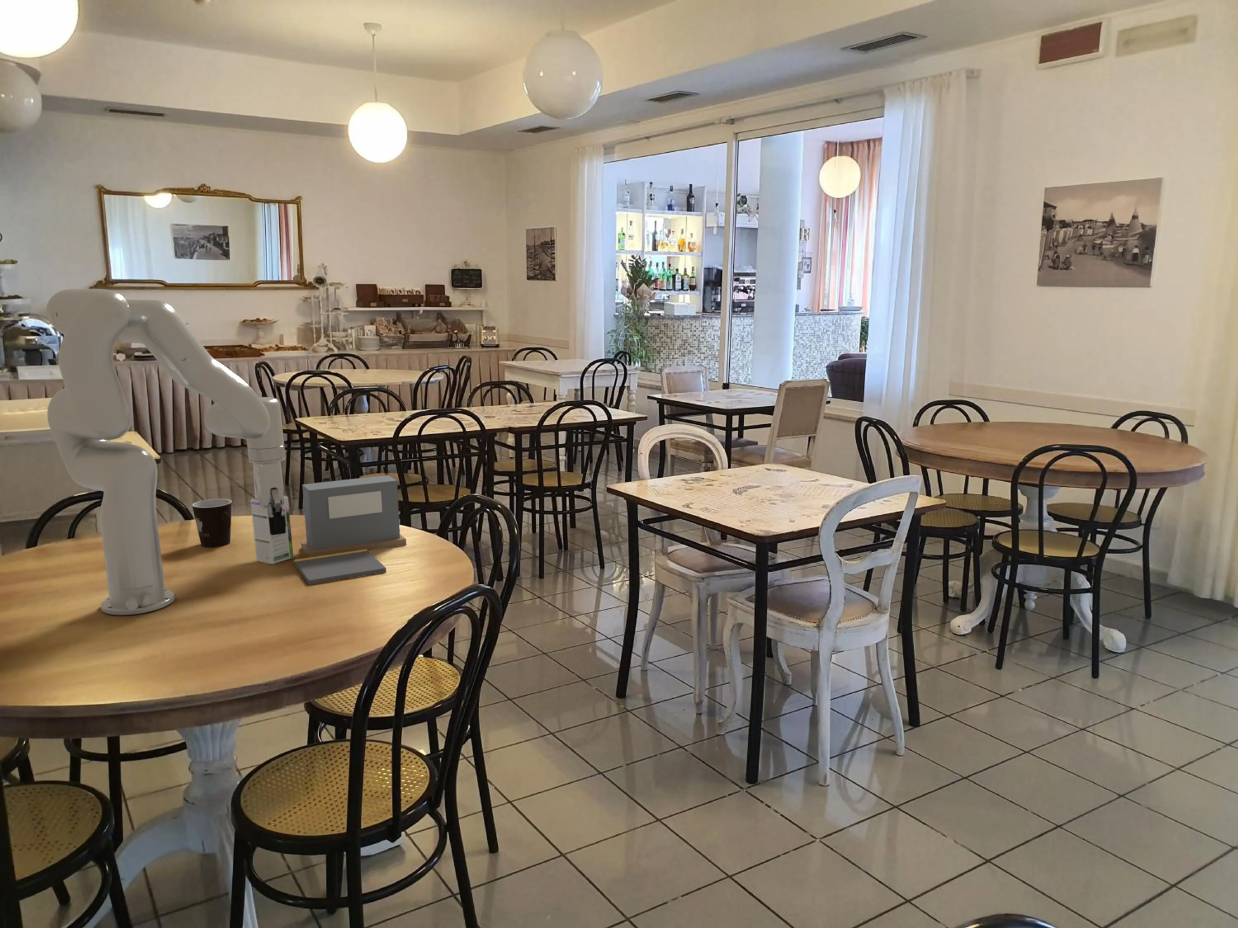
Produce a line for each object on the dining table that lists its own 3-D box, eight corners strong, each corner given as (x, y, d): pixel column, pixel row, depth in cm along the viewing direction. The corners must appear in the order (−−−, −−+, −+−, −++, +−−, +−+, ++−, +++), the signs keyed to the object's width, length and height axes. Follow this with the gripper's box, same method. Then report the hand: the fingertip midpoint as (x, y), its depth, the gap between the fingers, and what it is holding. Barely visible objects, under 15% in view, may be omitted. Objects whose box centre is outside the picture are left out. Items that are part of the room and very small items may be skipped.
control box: (406, 544, 214) (403, 481, 211) (310, 559, 203) (305, 492, 200) (394, 534, 222) (390, 473, 219) (301, 548, 212) (296, 483, 208)
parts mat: (386, 572, 194) (386, 567, 194) (309, 584, 186) (309, 579, 186) (366, 553, 207) (366, 548, 207) (293, 564, 199) (293, 559, 199)
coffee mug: (195, 541, 218) (191, 501, 216) (234, 537, 221) (231, 497, 219) (196, 554, 207) (191, 512, 205) (236, 549, 211) (232, 508, 209)
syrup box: (272, 565, 199) (267, 501, 196) (255, 560, 202) (249, 497, 199) (293, 558, 204) (289, 495, 201) (276, 554, 207) (271, 492, 204)
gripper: (242, 449, 204) (250, 522, 207) (255, 463, 189) (263, 541, 193) (277, 445, 207) (284, 517, 211) (292, 458, 193) (299, 535, 197)
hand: (274, 528), depth 202 cm, fingers open, 9 cm apart
